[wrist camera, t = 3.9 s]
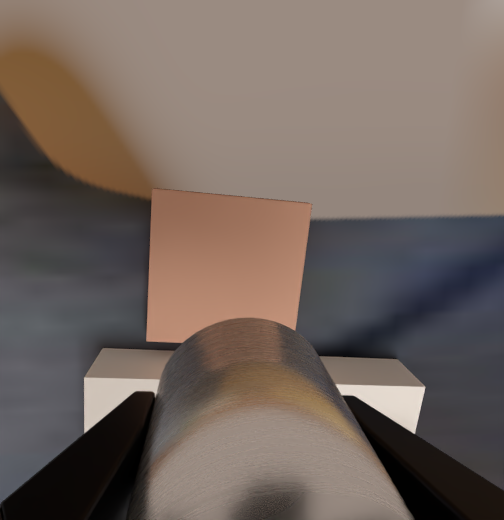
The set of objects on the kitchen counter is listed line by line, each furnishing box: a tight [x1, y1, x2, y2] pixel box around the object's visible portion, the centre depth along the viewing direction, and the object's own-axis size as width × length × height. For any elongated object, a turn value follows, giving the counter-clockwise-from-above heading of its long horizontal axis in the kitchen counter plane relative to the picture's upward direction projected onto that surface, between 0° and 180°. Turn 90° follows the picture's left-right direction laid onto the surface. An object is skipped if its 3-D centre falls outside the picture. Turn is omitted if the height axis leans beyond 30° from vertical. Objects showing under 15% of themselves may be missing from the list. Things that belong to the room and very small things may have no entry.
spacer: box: [125, 318, 415, 520], centre depth 6 cm, size 4×4×4 cm
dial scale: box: [84, 348, 425, 434], centre depth 18 cm, size 14×18×8 cm
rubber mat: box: [146, 188, 312, 343], centre depth 19 cm, size 8×8×1 cm
